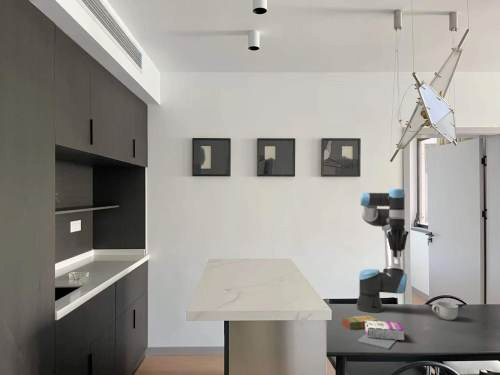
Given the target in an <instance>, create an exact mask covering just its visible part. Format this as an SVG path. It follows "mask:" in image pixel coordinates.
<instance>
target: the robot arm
mask: <svg viewBox="0 0 500 375" xmlns="http://www.w3.org/2000/svg"><path fill="white" fill-rule="evenodd" d="M405 197H406V193H405V189H404V188H390V189H389V191H388V192H362V193H360V206H361V207H363V210H362V211H361V217H362V219H363V220H364V222H366V223H367V224H368V225H371V226H372V227H380V228H381V230H382V231H383V232H384V255H385V256H384V257H385V259H384V260H385V267H384V268H383V270H382V272H380V269H378V268H377V269H376V268H371V269H370V268H369V269H362V270H360V272H359V278H358V279H359V284H358V285H359V286H358V288H359V289H358V290H359V291H358V292H359V293H358V294H359V296H358V298H357V302H356V306H355V307H356V309H357V310H359V311H362V312H367V313H381V312H383V311H384V306H383V302H382V300H381V296H380V295H381V294H380V293H384V294H385V293H387V294H388V293H389V294H396V295H397V294H404V293H405V292H406V288H407V280H408V277H407V276H408V274H407V273H405V271H404V269H403V268H402V266H401V265H402V264H401V257H402V252H403V251H404V250H405V249H406V245H407V244H406V243H407V238H408V235H409V231H407V230H406V228H405V226H406V223H405V222H406V220H405V216H406V215H405V214H406V213H405V212H406V211H405V209H406V208H405V204H406V203H405ZM378 207H389V208H378Z"/></svg>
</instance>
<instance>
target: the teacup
mask: <svg viewBox="0 0 500 375" xmlns="http://www.w3.org/2000/svg"><path fill="white" fill-rule="evenodd" d="M435 309H436V310H435ZM431 311H432V312H433V313H434V314H436V315H437V316H438V317H439V318H440V319H443V320H446V321H453V320H455V319H457V318H458V313H459V306H458V305H457V304H456V303H453V302H450V301H449V302H448V301H442V300H441V301H437V302H436V304H433V305H432V306H431Z"/></svg>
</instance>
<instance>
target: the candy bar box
mask: <svg viewBox="0 0 500 375" xmlns="http://www.w3.org/2000/svg"><path fill="white" fill-rule="evenodd" d="M364 329H365V334H366V333H367V336H368V338H381V339H394V340H397V341H405V329H404V328H403V326H402V325H401V323H400V322H396V321H395V322H394V321H390V322H389V321H380V320H378V321H368V320H365V328H364Z"/></svg>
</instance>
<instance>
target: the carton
mask: <svg viewBox="0 0 500 375" xmlns="http://www.w3.org/2000/svg"><path fill="white" fill-rule="evenodd" d="M365 320H368V321H379V320H378V319H377V318H376V317H373V316H371V315H359V316H358V315H357V316H344V317H342V322H341V323H342V325H343V326H344V327H345V328H347V329H349V330H350V331H351V330H360V329H361V330H362V329H365Z"/></svg>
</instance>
